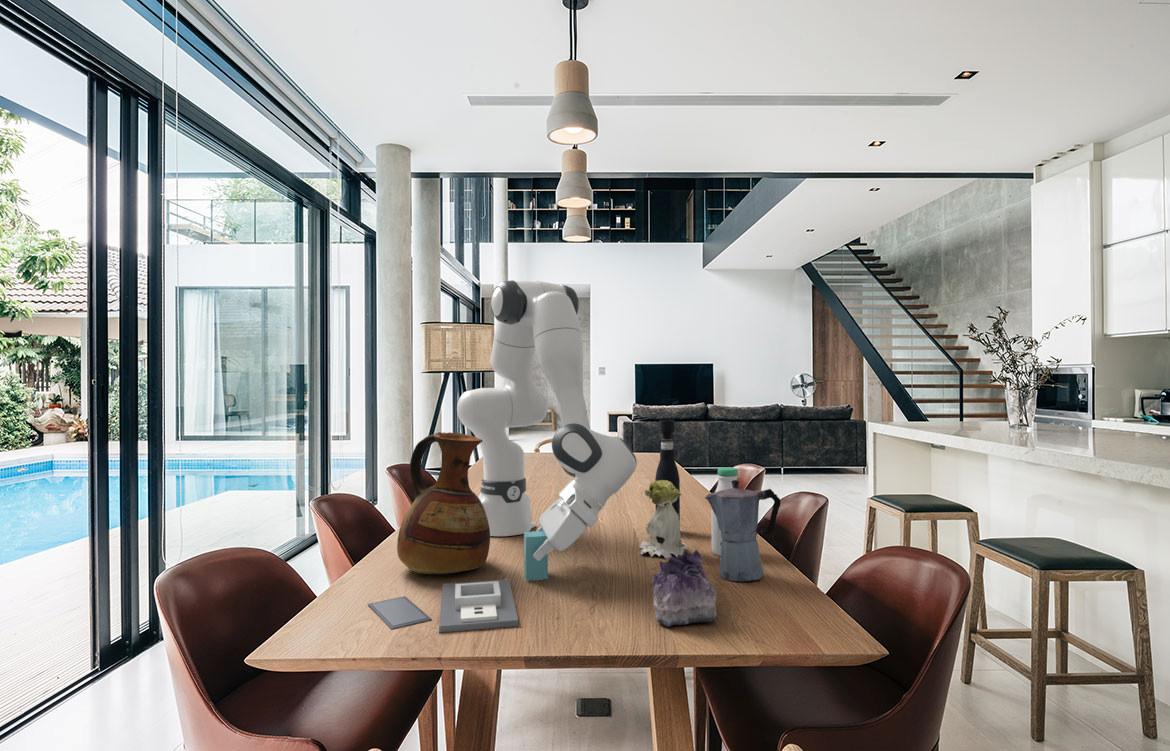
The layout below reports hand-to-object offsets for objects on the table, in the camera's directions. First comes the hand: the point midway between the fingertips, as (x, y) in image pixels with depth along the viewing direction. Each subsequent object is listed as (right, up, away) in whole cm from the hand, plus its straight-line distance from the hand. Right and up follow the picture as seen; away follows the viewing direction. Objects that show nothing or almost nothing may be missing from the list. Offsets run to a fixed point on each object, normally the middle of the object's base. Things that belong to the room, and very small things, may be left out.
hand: (532, 551), depth 134 cm
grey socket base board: (-9, -5, -17) cm, 20 cm away
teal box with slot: (+1, -5, 0) cm, 5 cm away
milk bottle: (+45, -5, +17) cm, 48 cm away
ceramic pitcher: (-20, -6, +6) cm, 21 cm away
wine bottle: (+33, -5, +37) cm, 50 cm away
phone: (-22, -6, -20) cm, 30 cm away
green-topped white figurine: (+29, -5, +19) cm, 35 cm away
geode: (+29, -5, -19) cm, 35 cm away
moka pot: (+44, -5, 0) cm, 44 cm away
